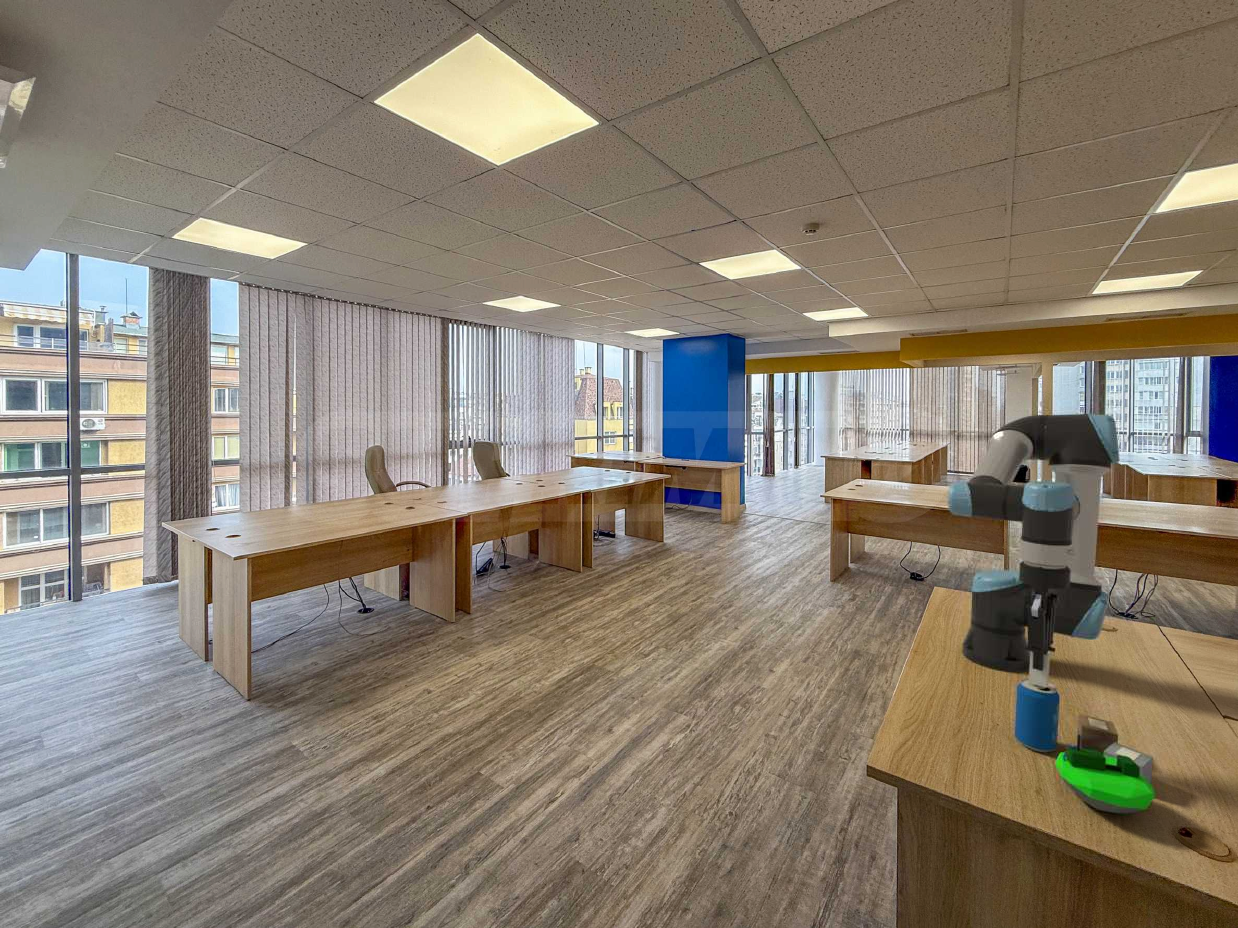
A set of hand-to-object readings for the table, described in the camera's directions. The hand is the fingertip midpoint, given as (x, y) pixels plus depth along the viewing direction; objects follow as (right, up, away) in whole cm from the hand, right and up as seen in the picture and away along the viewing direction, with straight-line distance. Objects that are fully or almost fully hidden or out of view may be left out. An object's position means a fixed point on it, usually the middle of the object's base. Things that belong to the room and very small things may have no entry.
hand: (1038, 683), depth 102 cm
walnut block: (+11, -12, -1) cm, 16 cm away
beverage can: (0, -12, +1) cm, 13 cm away
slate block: (+8, -13, -10) cm, 18 cm away
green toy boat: (-1, -14, -15) cm, 20 cm away
